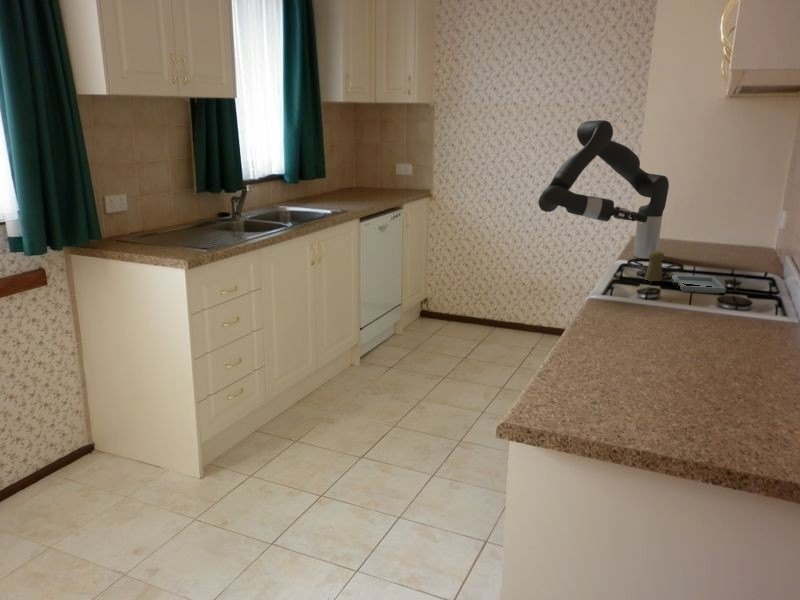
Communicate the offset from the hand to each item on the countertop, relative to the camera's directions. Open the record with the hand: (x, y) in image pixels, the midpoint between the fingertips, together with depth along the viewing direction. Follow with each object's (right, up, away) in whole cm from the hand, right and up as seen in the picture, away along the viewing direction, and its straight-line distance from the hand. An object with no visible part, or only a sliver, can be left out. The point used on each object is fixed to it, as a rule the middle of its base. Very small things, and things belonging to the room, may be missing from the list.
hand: (642, 217), depth 227 cm
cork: (+6, -22, +7) cm, 24 cm away
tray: (+19, -24, +1) cm, 31 cm away
